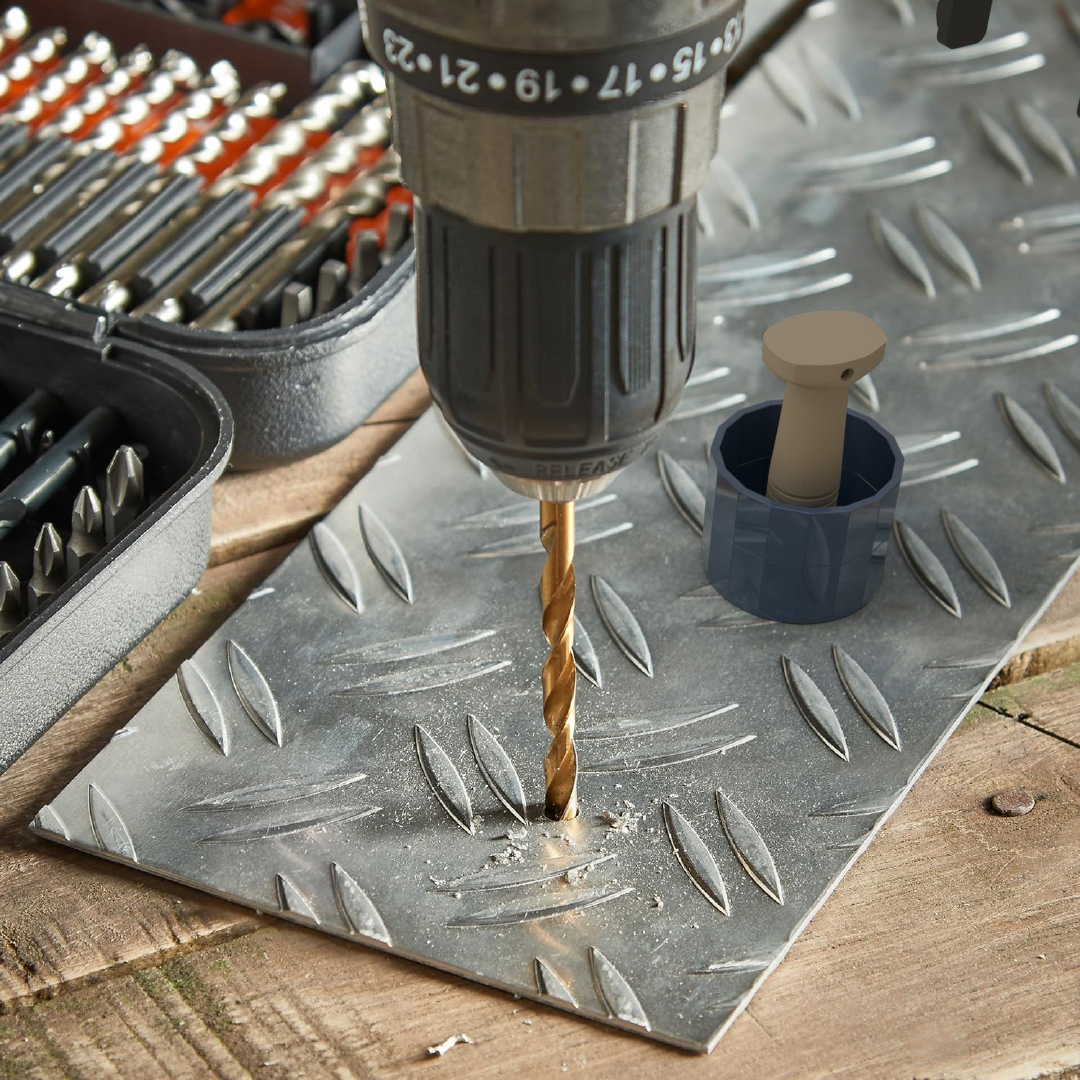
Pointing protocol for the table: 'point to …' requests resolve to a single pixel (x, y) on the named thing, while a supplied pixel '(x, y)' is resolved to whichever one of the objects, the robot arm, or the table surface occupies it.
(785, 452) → the handle
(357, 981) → the table surface
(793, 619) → the pot
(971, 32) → the robot arm
